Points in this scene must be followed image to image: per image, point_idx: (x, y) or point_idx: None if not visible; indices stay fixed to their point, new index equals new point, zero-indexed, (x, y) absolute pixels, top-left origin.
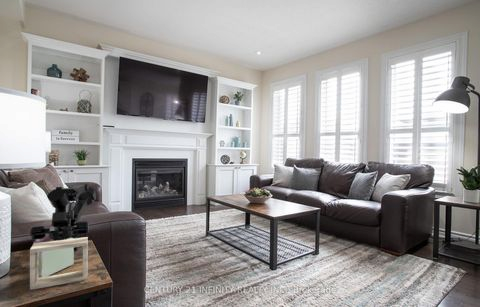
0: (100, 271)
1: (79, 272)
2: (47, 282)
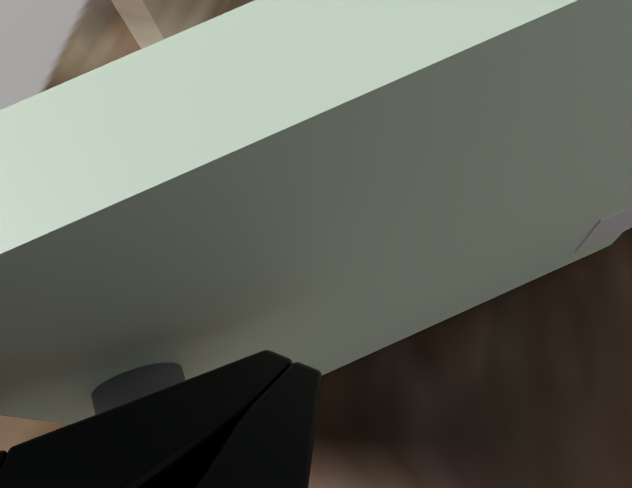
0: (88, 43)
1: None
2: None
